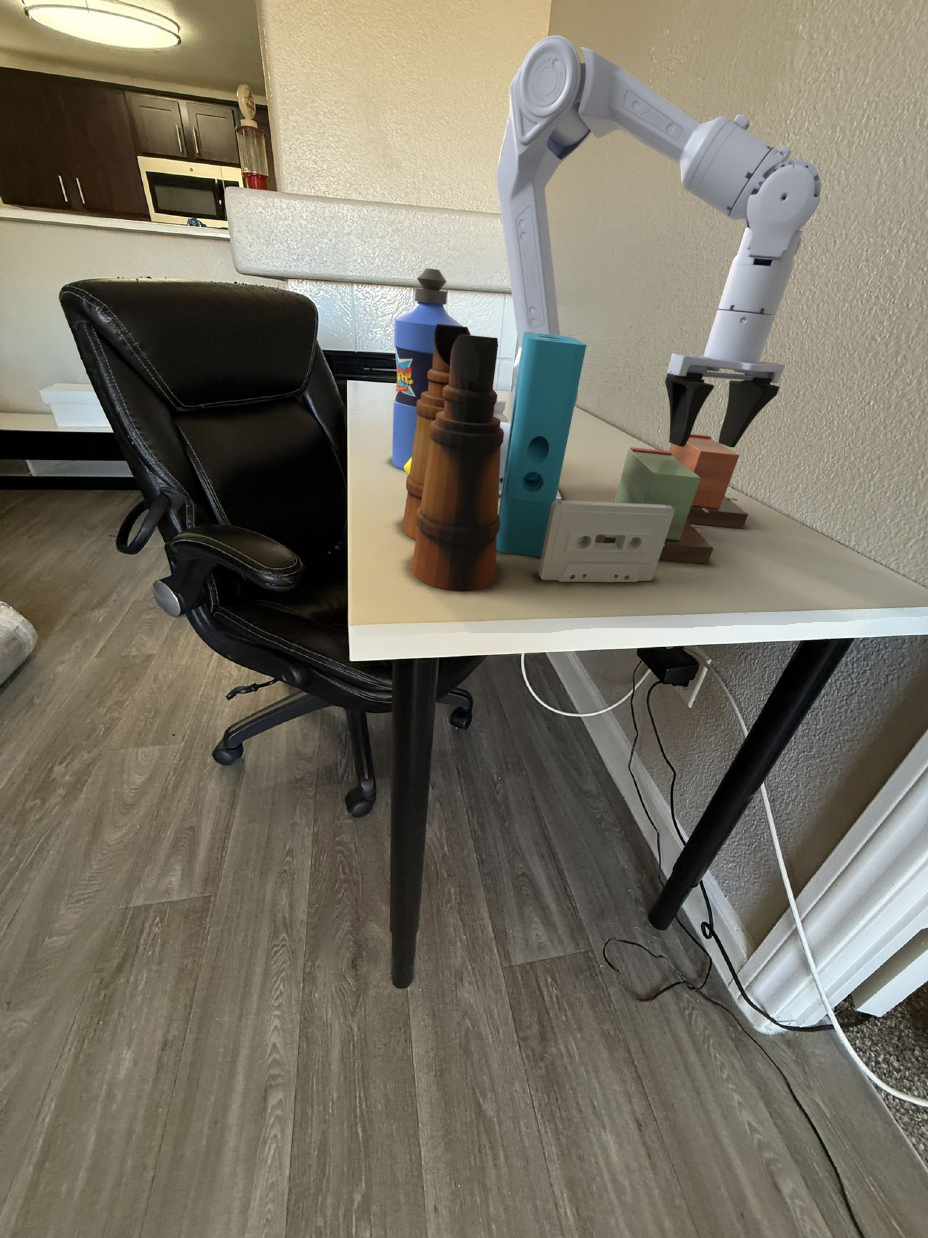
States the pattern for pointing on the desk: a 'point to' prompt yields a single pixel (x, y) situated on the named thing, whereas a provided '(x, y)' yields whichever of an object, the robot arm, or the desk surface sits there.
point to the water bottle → (415, 358)
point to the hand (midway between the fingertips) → (702, 444)
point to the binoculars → (456, 465)
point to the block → (537, 439)
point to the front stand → (678, 545)
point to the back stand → (719, 515)
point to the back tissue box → (707, 467)
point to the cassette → (604, 562)
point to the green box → (658, 484)
